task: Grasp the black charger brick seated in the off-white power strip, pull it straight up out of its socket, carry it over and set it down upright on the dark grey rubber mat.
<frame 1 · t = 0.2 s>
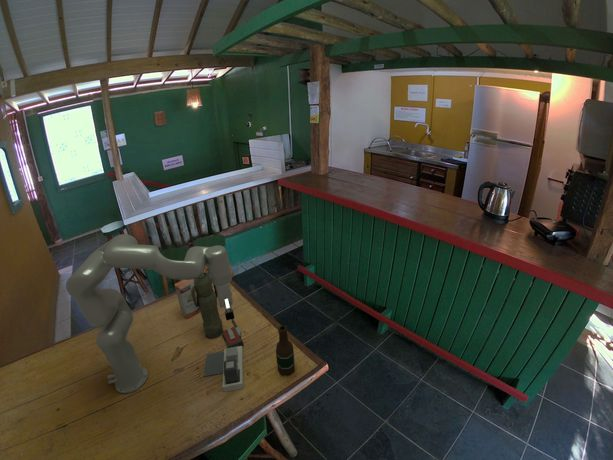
hand: (228, 311, 127), 30 cm above the table, fingers open, 9 cm apart
power strip: (233, 369, 138), on the table
mat: (214, 364, 141), on the table
charger: (232, 378, 132), point 2 cm above the table, touching power strip
beer bottle: (286, 369, 137), on the table
thermos: (214, 332, 158), on the table
cracker box: (196, 310, 173), on the table
walkie-talkie: (232, 335, 156), on the table
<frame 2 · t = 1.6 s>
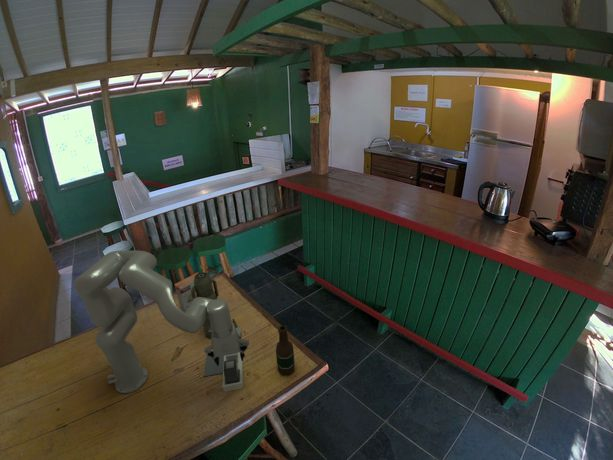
hand: (230, 360, 127), 13 cm above the table, fingers open, 9 cm apart
nothing on the table moved.
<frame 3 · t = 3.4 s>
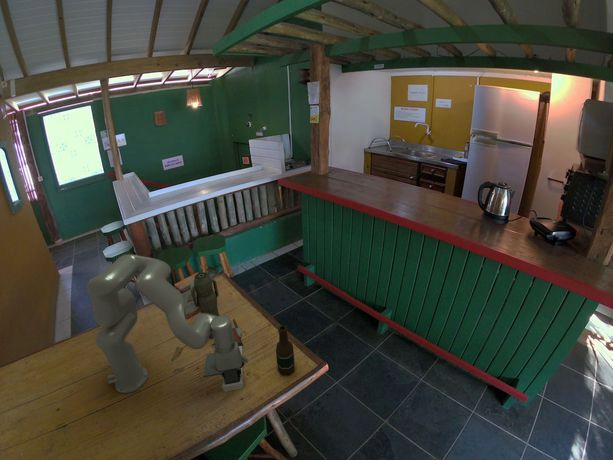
hand: (232, 375, 131), 4 cm above the table, fingers closed on charger, 5 cm apart
charger: (232, 378, 132), point 2 cm above the table, touching gripper, power strip
everything else where it was.
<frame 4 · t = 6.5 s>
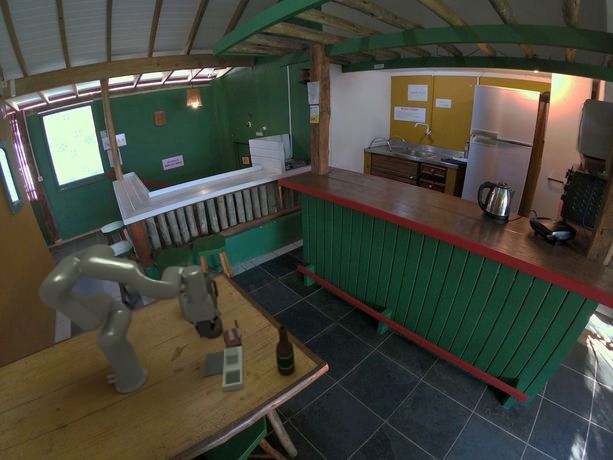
hand: (206, 329, 131), 21 cm above the table, fingers closed on charger, 5 cm apart
charger: (206, 332, 132), point 19 cm above the table, touching gripper
everything else where it was.
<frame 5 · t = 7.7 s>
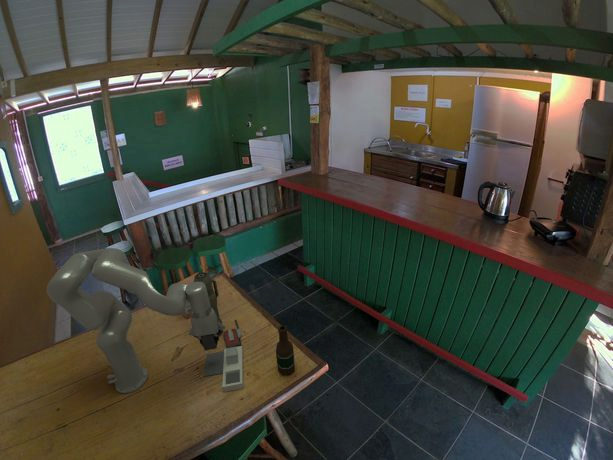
hand: (210, 342, 135), 13 cm above the table, fingers closed on charger, 5 cm apart
charger: (210, 345, 136), point 12 cm above the table, touching gripper
everything else where it was.
when the fingers open (4 cm above the table, at t = 9.8 s): charger drops 2 cm, resting on mat.
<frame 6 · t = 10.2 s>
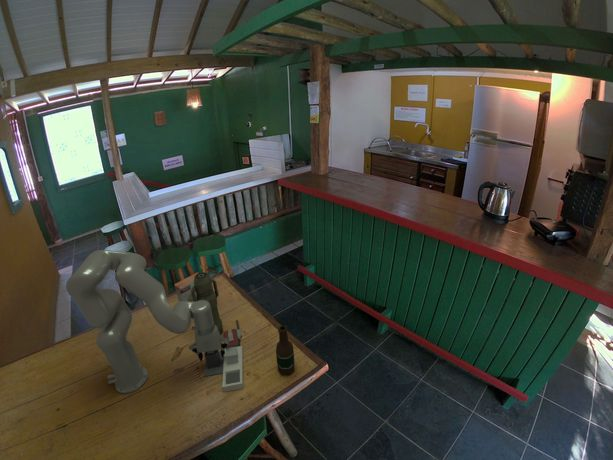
hand: (212, 356, 139), 5 cm above the table, fingers open, 8 cm apart
charger: (214, 363, 141), point 1 cm above the table, touching mat
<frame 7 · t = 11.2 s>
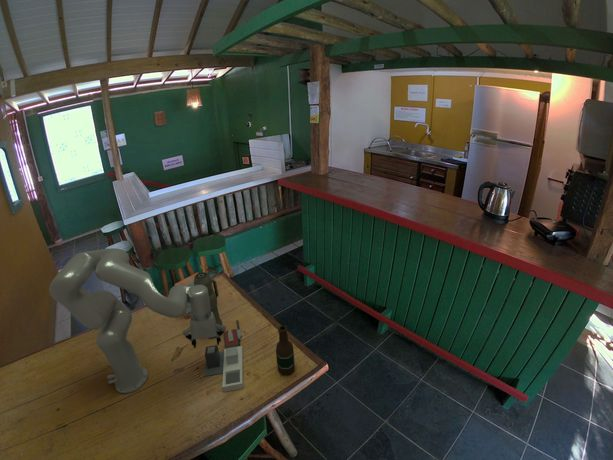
hand: (206, 344, 135), 13 cm above the table, fingers open, 9 cm apart
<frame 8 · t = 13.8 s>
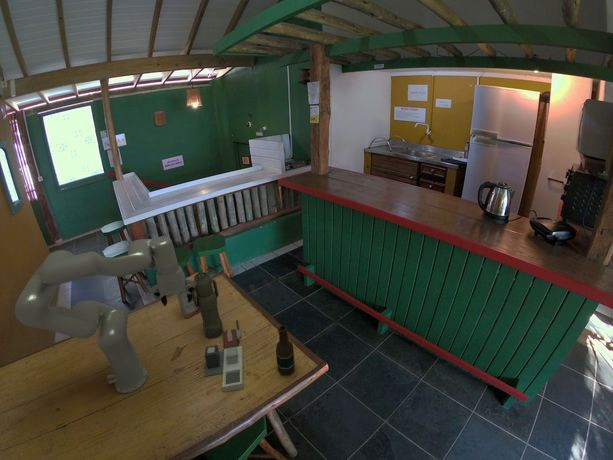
hand: (178, 302, 129), 33 cm above the table, fingers open, 9 cm apart
at the end: charger inside the target area on the mat (0.1 cm from its centre), point 0.6 cm above the mat's base; charger tilted 0°; the gripper is holding nothing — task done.
